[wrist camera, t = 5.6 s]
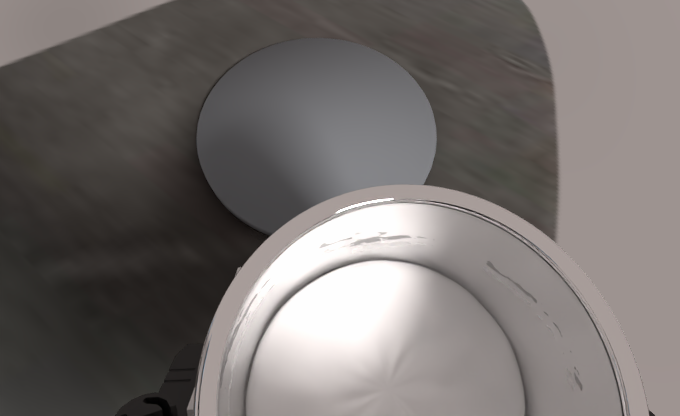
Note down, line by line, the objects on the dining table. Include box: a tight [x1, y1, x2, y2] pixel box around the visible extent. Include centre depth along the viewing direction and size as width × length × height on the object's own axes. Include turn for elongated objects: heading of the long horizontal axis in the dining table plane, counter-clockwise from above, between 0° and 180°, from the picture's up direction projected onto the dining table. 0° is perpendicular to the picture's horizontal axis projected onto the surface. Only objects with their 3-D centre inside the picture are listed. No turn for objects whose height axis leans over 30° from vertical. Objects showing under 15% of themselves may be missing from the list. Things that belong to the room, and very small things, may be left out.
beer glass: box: [193, 184, 650, 416], centre depth 13 cm, size 7×7×15 cm
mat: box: [196, 38, 437, 236], centre depth 25 cm, size 14×14×1 cm
